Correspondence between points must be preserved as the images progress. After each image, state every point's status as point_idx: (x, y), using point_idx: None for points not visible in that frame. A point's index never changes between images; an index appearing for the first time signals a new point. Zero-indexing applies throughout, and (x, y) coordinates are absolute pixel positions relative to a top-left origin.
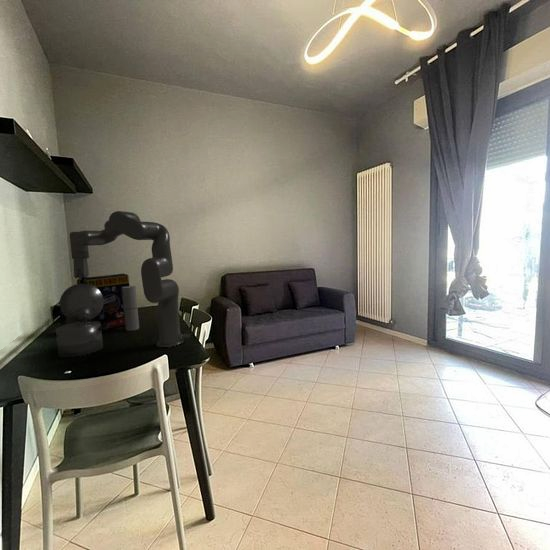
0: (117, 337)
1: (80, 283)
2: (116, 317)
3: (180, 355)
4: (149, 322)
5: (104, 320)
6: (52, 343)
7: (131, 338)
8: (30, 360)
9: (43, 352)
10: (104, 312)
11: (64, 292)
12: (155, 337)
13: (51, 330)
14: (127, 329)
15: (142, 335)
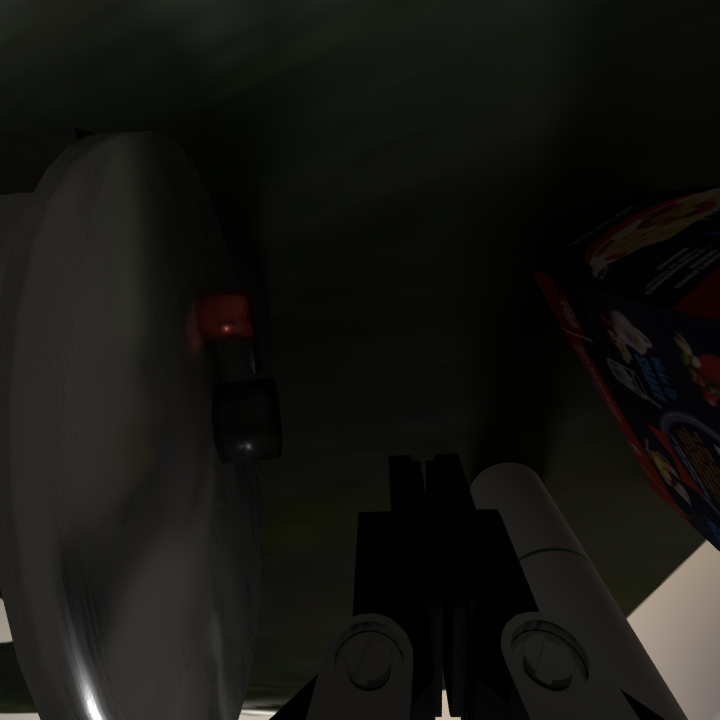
0: (354, 441)
1: (347, 640)
2: (646, 445)
3: (13, 662)
4: (614, 560)
5: (607, 374)
6: (403, 51)
7: (301, 506)
8: (54, 56)
9: (197, 75)
10: (654, 406)
11: (36, 226)
12: (272, 594)
13: (69, 135)
14: (482, 477)
15: (335, 546)
